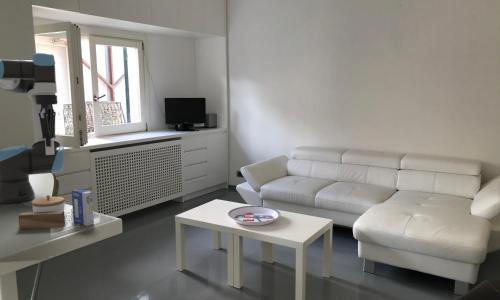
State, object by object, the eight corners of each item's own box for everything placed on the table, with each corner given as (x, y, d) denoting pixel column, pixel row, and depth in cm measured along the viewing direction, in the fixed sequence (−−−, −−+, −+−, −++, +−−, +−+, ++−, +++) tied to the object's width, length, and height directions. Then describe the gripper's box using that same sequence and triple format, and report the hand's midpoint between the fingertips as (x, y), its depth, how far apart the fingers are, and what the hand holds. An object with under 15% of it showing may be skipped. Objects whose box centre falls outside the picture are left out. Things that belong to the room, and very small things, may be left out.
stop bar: (22, 226, 140) (21, 212, 140) (65, 224, 142) (64, 211, 142) (19, 229, 137) (18, 215, 137) (62, 227, 139) (61, 213, 139)
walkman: (73, 222, 145) (71, 189, 143) (80, 220, 147) (78, 188, 146) (87, 225, 141) (85, 192, 139) (94, 223, 143) (92, 191, 142)
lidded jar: (72, 219, 149) (70, 194, 148) (44, 227, 140) (42, 200, 139) (54, 214, 155) (52, 190, 153) (26, 222, 145) (24, 197, 144)
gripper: (41, 94, 161) (45, 152, 164) (29, 94, 148) (34, 157, 151) (61, 94, 162) (65, 152, 165) (50, 94, 150) (55, 156, 153)
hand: (50, 154), depth 158 cm, fingers closed
